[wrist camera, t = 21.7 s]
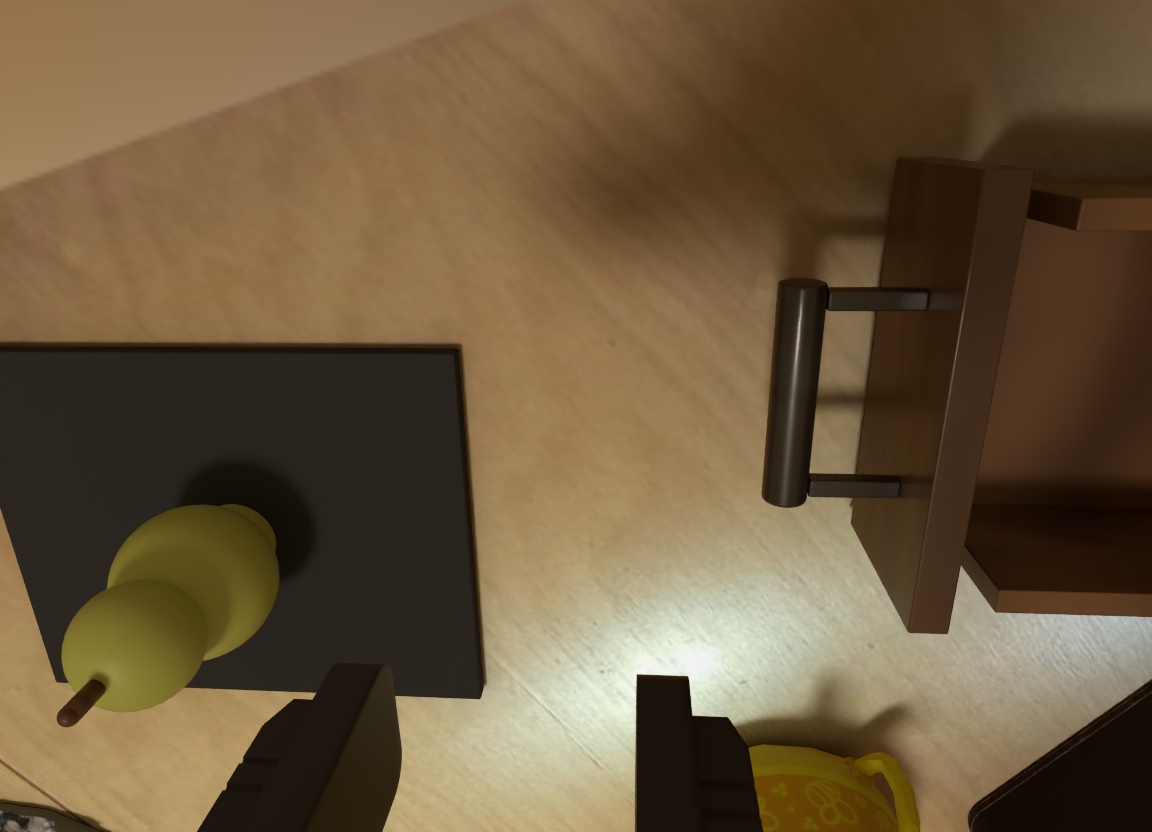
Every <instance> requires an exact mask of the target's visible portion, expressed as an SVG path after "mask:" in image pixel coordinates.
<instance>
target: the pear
mask: <svg viewBox="0 0 1152 832" xmlns="http://www.w3.org/2000/svg"><path fill="white" fill-rule="evenodd" d="M275 550H276V538H275V534H274V532H273V529H272V528H271V526H270V524H269V523H268V522H267V520H266V519H265V518H264V517H263V516H261V515H260V514H259V513H258V512H256V511H254V510H253V509H250V508H248V507H245V506H242V505H237V504H226V505H221V506H214V505H188V506H182V507H178V508H175V509H171V510H168V511H166V512H163V513H161V514H159V515H157V516H155V517H153V518H151V519H150V520H148V521H147V522H145V523H144V524H143V525H141V526H140V527H139V528H137V529H136V530H135V531H134V532H133V533H132V534H131V535H130V536H129V537H128V538H127V540H126V541H125V542H124V544H123V545H122V547H121V548H120V549H119V551H118V553H117V555H116V557H115V559H114V561H113V563H112V565H111V569H110V572H109V577H108V583H107V589H106V590H104V591H102V592H100V593H99V594H97V595H96V596H94V597H93V598H92V599H90V600H89V601H88V602H87V603H86V604H85V605H84V606H83V607H82V608H81V609H80V610H79V611H78V613H77V614H76V615H75V617H74V618H73V619H72V621H71V623H70V625H69V627H68V629H67V631H66V633H65V637H64V641H63V644H62V656H61V657H62V665H63V670H64V674H65V676H66V678H67V680H68V682H69V684H70V686H71V687H72V688H73V690H74V691H75V692H76V693H77V694H76V695H75V696H74V697H73V698H72V699H71V700H70V701H69V702H68V703H67V704H66V705H65V706H64V707H63V708H62V709H61V710H60V711H59V712H58V714H57V722H58V724H59V725H60V726H62V727H71V726H73V725H75V724H76V723H77V722H78V721H79V720H80V719H81V718H82V717H83V716H84V715H85V714H86V713H87V712H88V711H89V710H90V708H91V707H92V706H93V705H94V706H96V707H98V708H101V709H105V710H109V711H115V712H133V711H140V710H144V709H148V708H151V707H154V706H156V705H159V704H161V703H163V702H165V701H166V700H168V699H170V698H172V697H173V696H175V695H176V694H177V693H178V692H180V691H181V690H182V689H183V688H184V687H185V686H186V685H187V684H188V683H189V682H190V681H191V679H192V678H193V677H194V675H195V674H196V673H197V671H198V669H199V667H200V665H201V663H202V661H205V660H209V659H213V658H216V657H219V656H221V655H224V654H226V653H228V652H230V651H232V650H234V649H235V648H237V647H239V646H240V645H242V644H243V643H244V642H245V641H247V640H248V639H249V638H250V637H251V636H253V635H254V634H255V632H256V631H257V630H258V629H259V628H260V627H261V626H262V624H263V623H264V622H265V620H266V618H267V617H268V615H269V613H270V612H271V610H272V607H273V605H274V602H275V600H276V597H277V592H278V587H279V565H278V560H277V556H276V553H275Z"/></svg>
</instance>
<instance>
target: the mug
mask: <svg viewBox="0 0 1152 832" xmlns="http://www.w3.org/2000/svg"><path fill="white" fill-rule="evenodd" d="M749 753H750V759H751V764H752V770H753V776H754V781H755V789H756V793H757V798H758V804H759V810H760V818H761V821H762V827H763V832H920V820H919V815H918V811H917V806H916V801H915V797H914V792H913V789H912V786H911V784H910V782H909V780H908V779H907V777H906V775H905V773H904V771H903V769H902V767H901V765H900V763H899V762H898V761H897V760H896V759H895V758H893V757H891V756H889V755H887V754H884V753H881V752H877V753H870V754H868V755H866V756H864V757H862V758H860V759H857V758H854V757H846V758H842V757H839V756H836V755H833V754H829V753H826V752H823V751H820V750H817V749H814V748H808V747H794V746H780V745H766V744H762V745H758V746H753V747H749ZM876 773H883V774H884V776H885V778H886V780H887V781H888V783H889V785H890V787H891V789H892V790H893V795H894V802H895V808H896V815H897V818H896V816H895V814H894V813H893V811H892V809H891V807H890V805H889V803H888V801H887V800H886V798H885V797H884V796H883V794H882V793H881V792H880V791H879V789H878V788H877V786H876V785H875V780H876V779H875V775H874V774H876Z"/></svg>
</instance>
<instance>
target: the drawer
mask: <svg viewBox="0 0 1152 832" xmlns="http://www.w3.org/2000/svg"><path fill="white" fill-rule="evenodd" d="M1034 174H1035V171H1034V170H1033V169H1028V168H1020V167H1012V166H1004V165H996V164H988V163H980V162H972V161H964V160H956V159H948V158H940V157H898V158H897V160H896V168H895V176H894V184H893V192H892V200H891V208H890V216H889V224H888V232H887V240H886V248H885V256H884V264H883V272H882V279H881V287H828V285H827V283H826V282H824V281H821V280H817V279H809V278H790V279H784V280H781V281H779V283H778V289H777V302H776V315H775V328H774V341H773V354H772V367H771V380H770V392H769V405H768V418H767V431H766V444H765V457H764V470H763V483H762V497H763V499H764V500H765V501H766V502H767V503H769V504H771V505H774V506H778V507H785V508H792V507H798V506H801V505H803V504H804V503H805V501H806V499H807V493H808V496H810V497H847V498H854V502H853V510H852V518H851V525H852V527H853V529H854V531H855V532H856V534H857V536H858V538H859V540H860V542H861V544H862V546H863V548H864V549H865V551H866V553H867V555H868V557H869V559H870V561H871V563H872V565H873V567H874V568H875V570H876V572H877V574H878V576H879V578H880V580H881V582H882V584H883V586H884V587H885V589H886V591H887V593H888V595H889V597H890V599H891V601H892V603H893V605H894V606H895V608H896V610H897V612H898V614H899V616H900V618H901V620H902V622H903V624H904V625H905V627H906V629H907V631H908V632H909V633H929V634H947V633H948V630H949V625H950V620H951V614H952V609H953V604H954V598H955V593H956V588H957V583H958V577H959V572H960V567H961V566H962V567H963V569H964V570H965V571H966V573H967V574H968V575H969V577H970V578H971V580H972V581H973V582H974V584H975V585H976V586H977V588H978V589H979V591H980V592H981V593H982V595H983V596H984V598H985V599H986V600H987V602H988V603H989V604H990V606H991V607H992V609H993V610H994V611H995V612H1001V613H1035V614H1069V615H1103V616H1137V617H1152V177H1144V178H1061V179H1034ZM826 309H827V310H828V311H877V319H876V327H875V335H874V343H873V351H872V359H871V367H870V375H869V383H868V391H867V398H866V406H865V414H864V422H863V430H862V438H861V446H860V454H859V462H858V470H857V474H816V473H809V470H810V460H811V450H812V440H813V430H814V420H815V411H816V401H817V391H818V381H819V371H820V361H821V351H822V341H823V332H824V322H825V312H826Z"/></svg>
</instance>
